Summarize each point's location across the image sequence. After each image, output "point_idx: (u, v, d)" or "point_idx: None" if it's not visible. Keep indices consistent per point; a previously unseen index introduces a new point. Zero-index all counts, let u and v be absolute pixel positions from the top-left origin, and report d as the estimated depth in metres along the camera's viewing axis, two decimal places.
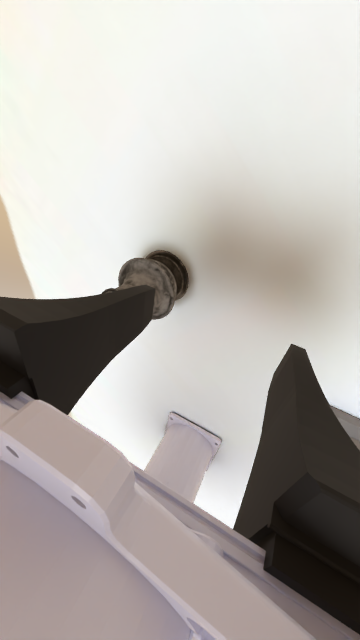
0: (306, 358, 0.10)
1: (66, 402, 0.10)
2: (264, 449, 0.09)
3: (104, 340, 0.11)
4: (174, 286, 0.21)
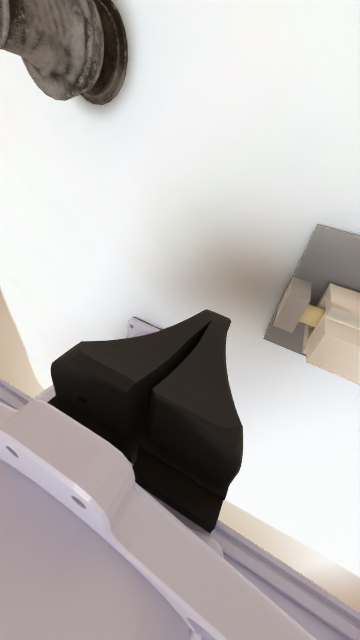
0: (224, 324, 0.11)
1: None
2: None
3: None
4: (94, 12, 0.13)
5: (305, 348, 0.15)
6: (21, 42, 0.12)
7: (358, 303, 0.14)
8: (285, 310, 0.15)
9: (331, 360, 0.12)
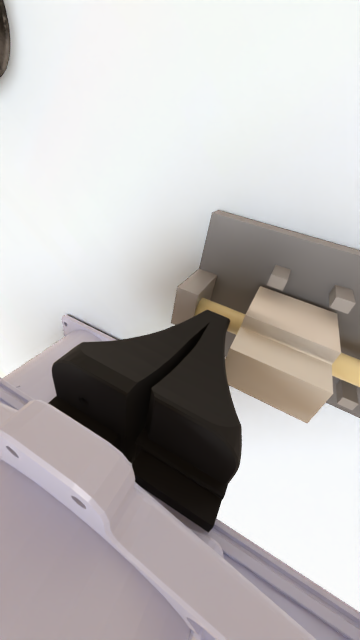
0: (223, 323, 0.11)
1: None
2: None
3: None
4: None
5: None
6: None
7: (283, 310, 0.12)
8: (178, 305, 0.13)
9: (241, 379, 0.10)
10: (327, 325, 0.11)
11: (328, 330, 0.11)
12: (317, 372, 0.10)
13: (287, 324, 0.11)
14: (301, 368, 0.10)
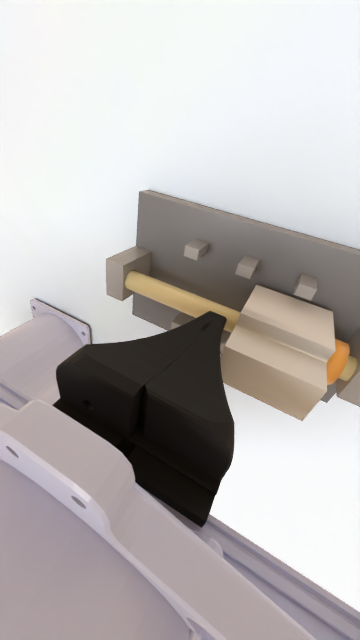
0: (220, 322, 0.11)
1: None
2: None
3: None
4: None
5: None
6: None
7: (278, 308, 0.12)
8: (109, 277, 0.15)
9: (237, 376, 0.11)
10: (323, 323, 0.11)
11: (323, 328, 0.11)
12: (311, 370, 0.10)
13: (282, 322, 0.11)
14: (296, 366, 0.10)
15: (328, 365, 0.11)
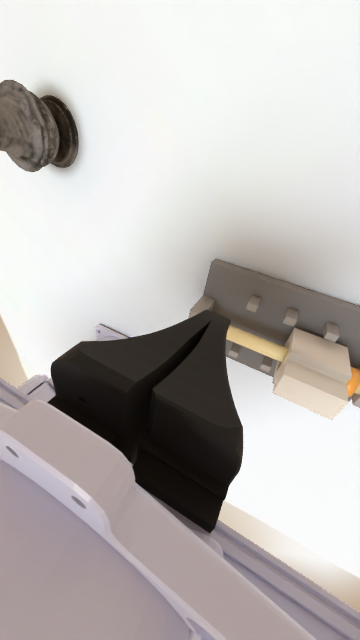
0: (224, 324, 0.11)
1: None
2: None
3: None
4: (48, 119, 0.19)
5: (274, 380, 0.19)
6: None
7: (312, 347, 0.18)
8: None
9: (290, 392, 0.17)
10: (342, 357, 0.18)
11: (343, 361, 0.17)
12: (337, 389, 0.16)
13: (317, 357, 0.17)
14: (328, 386, 0.16)
15: (347, 385, 0.17)
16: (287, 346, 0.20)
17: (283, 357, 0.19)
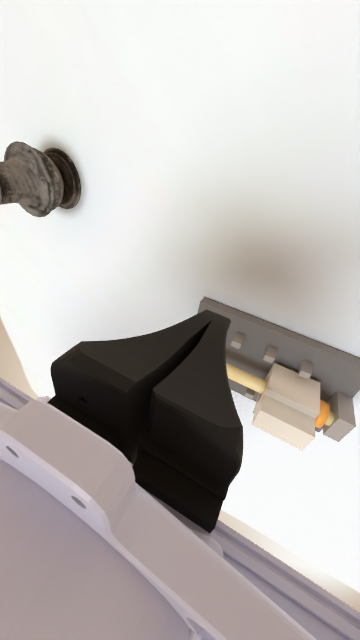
0: (224, 324, 0.11)
1: None
2: None
3: None
4: (54, 174, 0.21)
5: (255, 410, 0.21)
6: (8, 201, 0.20)
7: (288, 383, 0.20)
8: None
9: (266, 425, 0.19)
10: (314, 393, 0.20)
11: (314, 397, 0.20)
12: (307, 424, 0.18)
13: (291, 394, 0.19)
14: (298, 421, 0.18)
15: (317, 418, 0.20)
16: (267, 378, 0.22)
17: (263, 390, 0.21)
